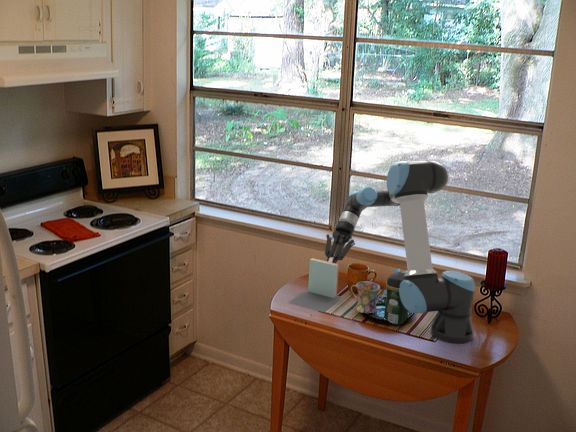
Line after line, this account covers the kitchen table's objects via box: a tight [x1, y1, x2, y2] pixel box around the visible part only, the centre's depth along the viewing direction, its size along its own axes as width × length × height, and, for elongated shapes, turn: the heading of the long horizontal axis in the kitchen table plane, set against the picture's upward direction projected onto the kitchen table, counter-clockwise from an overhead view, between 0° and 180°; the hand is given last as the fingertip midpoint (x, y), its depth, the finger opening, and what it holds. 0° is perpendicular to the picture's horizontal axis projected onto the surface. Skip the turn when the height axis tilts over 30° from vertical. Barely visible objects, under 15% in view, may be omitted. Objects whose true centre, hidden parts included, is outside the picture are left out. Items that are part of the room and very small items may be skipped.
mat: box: [287, 288, 345, 313], centre depth 261 cm, size 18×16×1 cm
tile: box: [307, 257, 340, 298], centre depth 265 cm, size 2×12×14 cm, turn 61°
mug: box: [350, 280, 381, 314], centre depth 254 cm, size 12×9×11 cm
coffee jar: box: [383, 271, 409, 326], centre depth 245 cm, size 10×8×19 cm
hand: (326, 272), depth 268 cm, fingers closed
